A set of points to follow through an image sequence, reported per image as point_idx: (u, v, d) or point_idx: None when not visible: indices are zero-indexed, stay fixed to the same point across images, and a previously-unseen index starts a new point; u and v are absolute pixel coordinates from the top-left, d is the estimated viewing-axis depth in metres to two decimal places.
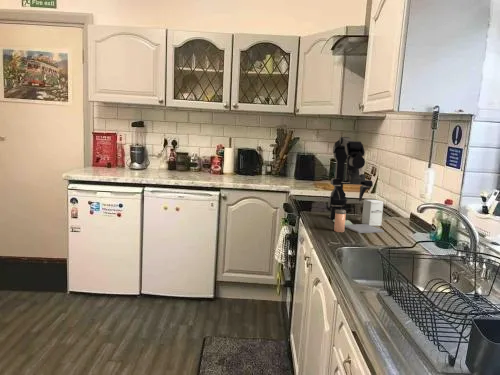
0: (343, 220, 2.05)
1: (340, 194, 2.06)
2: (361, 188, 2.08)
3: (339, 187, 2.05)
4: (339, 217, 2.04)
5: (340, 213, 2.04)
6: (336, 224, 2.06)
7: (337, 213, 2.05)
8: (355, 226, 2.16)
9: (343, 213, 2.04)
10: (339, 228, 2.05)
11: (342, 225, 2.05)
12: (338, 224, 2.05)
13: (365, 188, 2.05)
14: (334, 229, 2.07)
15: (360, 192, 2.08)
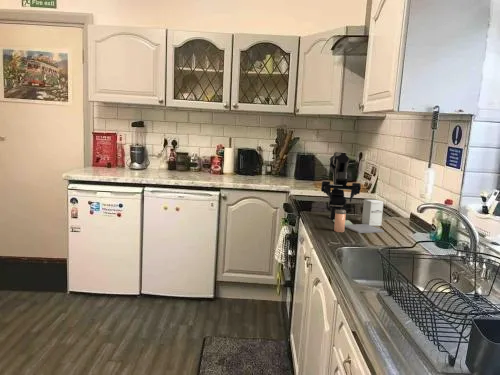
0: (343, 220, 2.05)
1: (330, 194, 2.13)
2: None
3: (328, 187, 2.14)
4: (339, 217, 2.04)
5: (340, 213, 2.04)
6: (336, 224, 2.06)
7: (337, 213, 2.05)
8: (355, 226, 2.16)
9: (343, 213, 2.04)
10: (339, 228, 2.05)
11: (342, 225, 2.05)
12: (338, 224, 2.05)
13: (354, 188, 2.12)
14: (334, 229, 2.07)
15: (350, 195, 2.14)
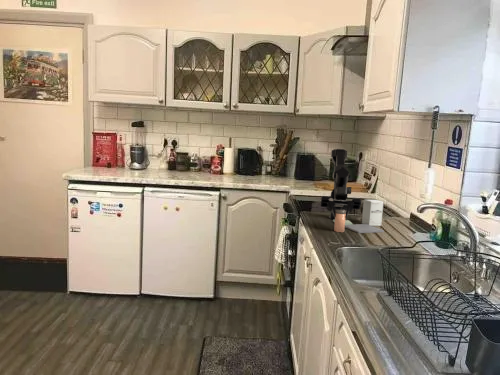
0: (343, 220, 2.05)
1: (334, 210, 2.07)
2: None
3: (332, 202, 2.08)
4: (339, 217, 2.04)
5: (340, 213, 2.04)
6: (336, 224, 2.06)
7: (337, 213, 2.05)
8: (355, 226, 2.16)
9: (343, 213, 2.04)
10: (339, 228, 2.05)
11: (342, 225, 2.05)
12: (338, 224, 2.05)
13: (349, 203, 2.07)
14: (334, 229, 2.07)
15: None
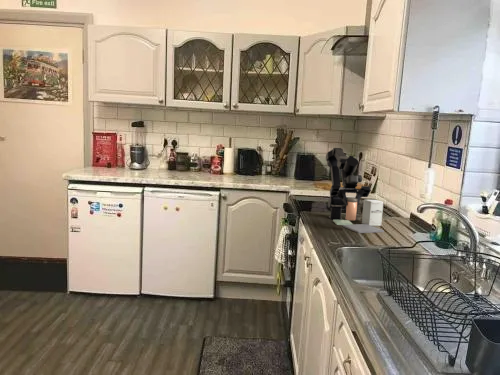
0: (355, 208, 2.06)
1: (345, 198, 2.08)
2: (356, 195, 2.11)
3: (343, 191, 2.08)
4: (352, 205, 2.06)
5: (353, 201, 2.05)
6: (348, 212, 2.07)
7: (350, 201, 2.06)
8: (355, 226, 2.16)
9: (355, 201, 2.06)
10: (352, 216, 2.06)
11: (354, 213, 2.06)
12: (350, 212, 2.06)
13: (360, 191, 2.09)
14: (346, 217, 2.08)
15: None
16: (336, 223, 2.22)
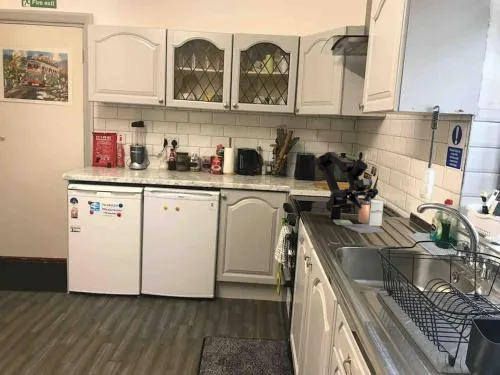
0: None
1: (359, 202, 2.12)
2: (366, 198, 2.16)
3: (356, 194, 2.12)
4: (366, 208, 2.10)
5: (367, 204, 2.10)
6: (363, 215, 2.11)
7: (364, 204, 2.10)
8: (355, 226, 2.16)
9: (369, 204, 2.11)
10: (366, 219, 2.11)
11: (368, 215, 2.12)
12: (365, 215, 2.11)
13: (370, 194, 2.15)
14: (360, 220, 2.12)
15: None
16: (336, 223, 2.22)
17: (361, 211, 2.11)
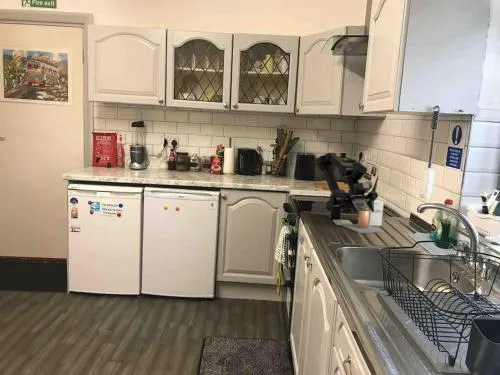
0: (368, 216, 2.12)
1: (355, 205, 2.11)
2: (369, 201, 2.17)
3: (352, 198, 2.11)
4: (365, 214, 2.11)
5: (366, 210, 2.11)
6: (362, 221, 2.11)
7: (363, 210, 2.11)
8: (355, 226, 2.16)
9: (368, 210, 2.11)
10: (365, 225, 2.11)
11: (367, 221, 2.12)
12: (364, 221, 2.11)
13: (373, 197, 2.16)
14: (359, 226, 2.12)
15: (370, 205, 2.16)
16: (336, 223, 2.22)
17: (361, 217, 2.12)
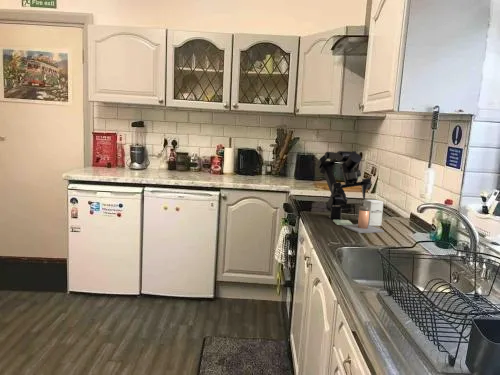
0: (368, 216, 2.12)
1: (343, 195, 2.17)
2: (362, 188, 2.19)
3: (340, 188, 2.17)
4: (365, 214, 2.11)
5: (366, 210, 2.11)
6: (362, 221, 2.11)
7: (363, 210, 2.11)
8: (355, 226, 2.16)
9: (368, 210, 2.11)
10: (365, 225, 2.11)
11: (367, 221, 2.12)
12: (364, 221, 2.11)
13: (365, 185, 2.16)
14: (359, 226, 2.12)
15: (362, 192, 2.18)
16: (336, 223, 2.22)
17: (361, 217, 2.12)
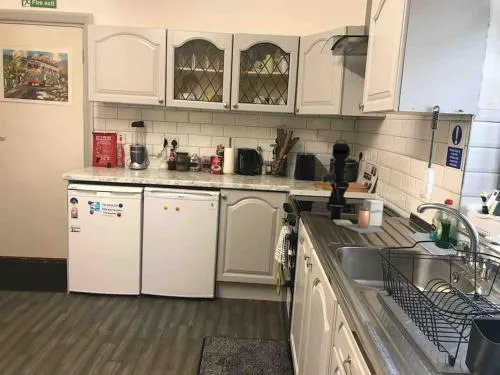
0: (368, 216, 2.12)
1: (333, 192, 2.23)
2: None
3: (330, 185, 2.24)
4: (365, 214, 2.11)
5: (366, 210, 2.11)
6: (362, 221, 2.11)
7: (363, 210, 2.11)
8: (355, 226, 2.16)
9: (368, 210, 2.11)
10: (365, 225, 2.11)
11: (367, 221, 2.12)
12: (364, 221, 2.11)
13: (335, 188, 2.12)
14: (359, 226, 2.12)
15: None
16: (336, 223, 2.22)
17: (361, 217, 2.12)
